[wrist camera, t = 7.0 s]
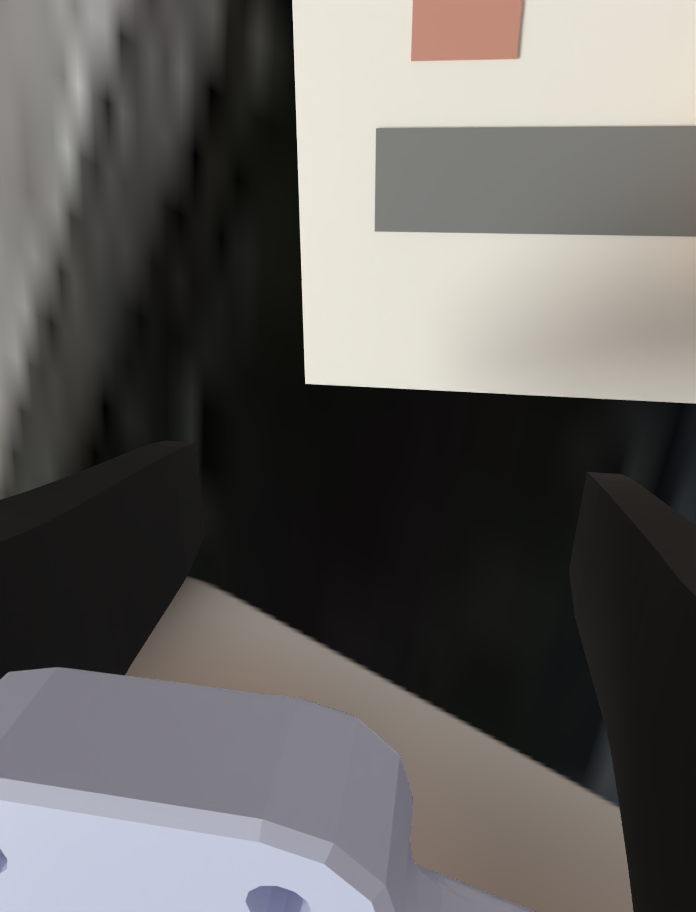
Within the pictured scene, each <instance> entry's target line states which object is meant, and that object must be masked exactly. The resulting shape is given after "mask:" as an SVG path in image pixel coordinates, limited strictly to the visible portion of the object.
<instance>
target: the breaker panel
mask: <svg viewBox="0 0 696 912" xmlns="http://www.w3.org/2000/svg"><path fill="white" fill-rule="evenodd" d="M292 2H293V32H294V62H295V91H296V121H297V151H298V180H299V210H300V240H301V269H302V299H303V329H304V358H305V384H322V385H342V386H362V387H381V388H401V389H421V390H441V391H461V392H480V393H500V394H520V395H540V396H559V397H579V398H599V399H619V400H639V401H658V402H678V403H696V0H292Z"/></svg>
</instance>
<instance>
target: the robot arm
mask: <svg viewBox="0 0 696 912" xmlns="http://www.w3.org/2000/svg"><path fill="white" fill-rule="evenodd" d="M204 536H205V527H204V518H203V508H202V499H201V489H200V479H199V470H198V460H197V451H196V443H191V442H177V441H162V442H157V443H154V444H150V445H147V446H145V447H142V448H139V449H136V450H134V451H131V452H128V453H126V454H123V455H121V456H118V457H116V458H113V459H111V460H108V461H106V462H104V463H101V464H99V465H96V466H94V467H91V468H89V469H86V470H84V471H81V472H79V473H76V474H73V475H71V476H68V477H65V478H63V479H60V480H57V481H54V482H52V483H49V484H46V485H43V486H41V487H38V488H35V489H33V490H30V491H27V492H24V493H21V494H18V495H15V496H11V497H8V498H5V499H2V500H0V912H535V911H533V910H530V909H528V908H525V907H523V906H520V905H518V904H515V903H513V902H510V901H508V900H505V899H503V898H500V897H498V896H495V895H493V894H490V893H488V892H485V891H483V890H480V889H478V888H475V887H473V886H470V885H468V884H465V883H463V882H460V881H458V880H455V879H453V878H450V877H448V876H445V875H443V874H440V873H438V872H435V871H433V870H430V869H428V868H425V867H423V866H420V865H418V864H415V862H414V860H413V858H412V851H411V844H410V832H411V818H412V804H413V796H412V793H411V789H410V786H409V783H408V780H407V776H406V773H405V770H404V767H403V763H402V760H401V757H400V755H399V754H398V753H397V752H396V751H395V750H394V749H392V748H391V747H390V746H389V745H388V744H387V743H386V742H384V741H383V740H382V739H381V738H380V737H379V736H378V735H376V734H375V733H374V732H373V731H372V730H370V728H369V727H367V726H366V725H365V724H364V723H363V722H362V721H361V720H359V719H358V718H357V717H355V716H353V715H350V714H347V713H344V712H341V711H338V710H335V709H332V708H329V707H326V706H323V705H320V704H317V703H314V702H311V701H308V700H305V699H302V698H295V697H287V696H279V695H271V694H264V693H255V692H248V691H241V690H233V689H225V688H217V687H210V686H201V685H194V684H187V683H178V682H171V681H163V680H155V679H147V678H140V677H132V676H125V674H126V672H127V671H128V669H129V667H130V666H131V664H132V662H133V660H134V659H135V657H136V656H137V654H138V653H139V651H140V650H141V648H142V647H143V645H144V643H145V642H146V640H147V639H148V637H149V635H150V634H151V633H152V631H153V629H154V628H155V626H156V625H157V623H158V622H159V620H160V619H161V617H162V615H163V614H164V612H165V611H166V609H167V608H168V606H169V604H170V603H171V601H172V600H173V598H174V596H175V595H176V593H177V592H178V590H179V588H180V587H181V585H182V584H183V582H184V580H185V579H186V577H187V575H188V573H189V571H190V569H191V567H192V564H193V562H194V560H195V558H196V556H197V553H198V551H199V548H200V546H201V543H202V541H203V539H204ZM569 570H570V579H571V588H572V597H573V604H574V612H575V618H576V621H577V625H578V629H579V633H580V637H581V640H582V644H583V648H584V651H585V655H586V658H587V662H588V666H589V669H590V673H591V676H592V680H593V683H594V687H595V691H596V694H597V698H598V701H599V705H600V708H601V712H602V716H603V719H604V723H605V727H606V731H607V736H608V740H609V745H610V749H611V755H612V762H613V768H614V774H615V780H616V787H617V793H618V799H619V805H620V813H621V820H622V827H623V834H624V841H625V848H626V855H627V862H628V870H629V878H630V886H631V894H632V902H633V911H634V912H696V525H694V524H693V523H692V522H690V521H689V520H687V519H686V518H685V517H683V516H682V515H680V514H679V513H678V512H676V511H675V510H674V509H672V508H671V507H669V506H668V505H667V504H665V503H664V502H663V501H661V500H660V499H659V498H657V497H656V496H655V495H653V494H652V493H650V492H649V491H648V490H646V489H645V488H644V487H642V486H641V485H639V484H638V483H636V482H635V481H633V480H632V479H630V478H629V477H627V476H625V475H621V474H607V473H594V472H587V474H586V480H585V485H584V491H583V496H582V502H581V507H580V513H579V519H578V524H577V530H576V535H575V541H574V546H573V552H572V557H571V563H570V568H569Z"/></svg>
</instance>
